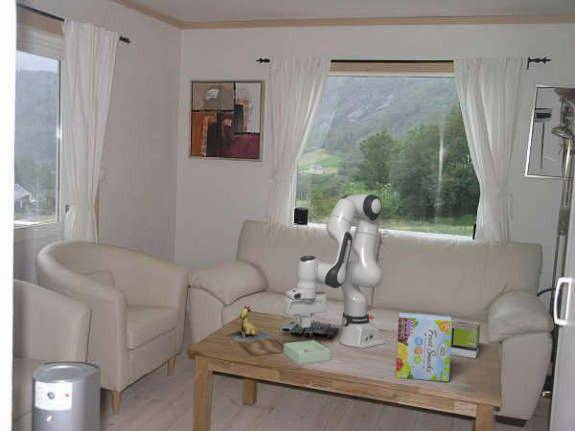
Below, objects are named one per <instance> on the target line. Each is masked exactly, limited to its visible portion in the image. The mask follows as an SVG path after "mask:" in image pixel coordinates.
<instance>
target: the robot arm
mask: <svg viewBox="0 0 575 431" xmlns="http://www.w3.org/2000/svg"><path fill="white" fill-rule="evenodd" d="M382 209H383V204H382V200H381V198H380V197H379V196H377V195H374V194H369V193H368V194H366V193H355V194H352V193H349V194H346V195H343V197H342V198H340V199H339V200H338V201H337V202H336V203H335V205H334V206H333V208H332V210H331V212H330V215H329V218H328V219H327V222H326V226H325V228H326V232H327V234H328V235H329V237H330V238H331V239H332V240H334V241H336V242H337V244H338V250H337V254H336V258H335V262H333V263H327V262H323V261H320V260H318V259H317V257H316V256H315V255H305V256H302V257H300V258H299V260H298V263H297V272H296V278H297V283H296V287H294V288H292V289H290V290H287V291H286V292H285V296H286V297H285V299H284V301H283V308H282V309H283V310H282V311H283V313H284V314H285V315H286V316H294V317H295V319H296V324H297V325H298V324H301V322H302V320H300V319H299V317H300V315H308V314H309V315H310V316H309V317H310V318H311V324H313V320H314V318H315V316H316V314H322V313H326V312H327V311H328V310H327V294H326V292H324V291H317V284H320V285H324V286H327V287H330V288H333V289H338V288H339V287H340V288H341V290H342V294H343V312H342V316H341V317H342V320H341V321H342V322H341V323H342V324H341V325H342V327H341V332H340V336H339V339H338V342H339V343H340V344H342V345H344V346H348V347H349V346H350V347H355V348H361V349H365V348H371V347H374V346H378V345H383V344H385V343H386V342H385V339H384V338H382V337H381V333H380V332H381V331H380V329H379V328H378V327H377V326H376V325H375V324H373V323H372V321H373V320H374V319H375V316H374V315H372V314H368V313H367V312H368V298H367V296H366V294H364V293H363V292H362V290H361V289H360V287H363V288H369V289H370V288H371V289H372V288H378V287H379V286H380V285H382V282H383V277H384V275H383V274H384V273H383V271H382V269H381V268H380V267H379V265H378V263H377V260H376V254H375V253H376V246H377V240H378V237H379V228H380V219H379V216H380V214H381V212H382ZM355 217H356V218H357V222H356V226H355V230H354V234H353V235H354V236H352V234H351V230H352V229H351V228H352V225H353V223H354V220H355ZM352 251H353V252H354V254H355V255H357V257H358V258H357V259H358V260H357V261H352V260H349V259H350V255H351V252H352ZM370 320H372V321H370Z"/></svg>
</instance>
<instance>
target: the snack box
mask: <svg viewBox="0 0 575 431" xmlns="http://www.w3.org/2000/svg"><path fill="white" fill-rule="evenodd" d="M451 319H452V317H451V316H450V315H449V316H448V315H437V314H424V313H407V312H398V319H397V320H398V321H397V322H398V324H397V333H396V334H397V335H396V336H397V339H396V354H395V356H396V359H395V377H396V378H401V379H413V380H423V381H434V382H447V383H449V382H450V368H451V367H450V366H451V354H450V353H451V336H452V320H451Z"/></svg>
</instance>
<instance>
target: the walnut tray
mask: <svg viewBox="0 0 575 431" xmlns="http://www.w3.org/2000/svg"><path fill="white" fill-rule="evenodd" d="M238 342H239V347H240V348H242V349H243V350H244V351H246V352H247V353H248V354H249V355H250V356H251V357H258V356H265V355H267V356H268V355H275V354H276V355H277V354H283V352H284V343H283V342H281V341H279V340H278V339H276V338H275V337H274V338H272V337H271V338H267V339H262V340H255V339H254V340H252V341H247V340H245V341H242V342H241V341H238Z"/></svg>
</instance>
